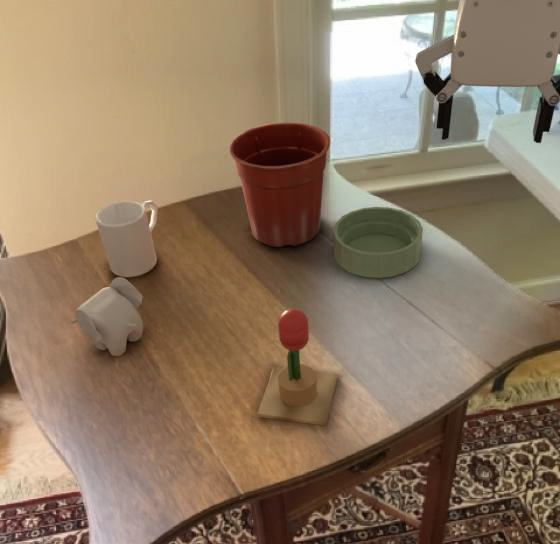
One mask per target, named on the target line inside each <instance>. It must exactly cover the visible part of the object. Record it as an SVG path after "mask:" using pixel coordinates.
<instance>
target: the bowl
mask: <svg viewBox="0 0 560 544" xmlns="http://www.w3.org/2000/svg"><path fill="white" fill-rule="evenodd" d="M423 231H424V229H423V225H422V223H421V222H420V220H418V219H417V218H416V217H415V216H414V215H412V214H410V213H409V212H406V211H404V210H403V209H398V208H393V207H386V206H371V207H363V208H359V209H356V210H352V211H350V212H348V213H346V214H343V215H342V216H341V217H340V218H339V219H338V220H337V221H336V222H335V224H334V227H333V230H332V233H333V235H332V240H333V244H332V245H333V246H332V247H333V248H332V249H333V257H334V260H335V262H336V263H337V264H338V265H339V266H340V268H342V269H343V270H345V271H346V272H348V273H350V274H352V275H356V276H360V277H364V278H374V279H382V278H391V277H396V276H398V275H401V274H405V273H407V272H408V271H410V270H412V269H413V268H414V267H415V266H416V265H417V264H418V263H419V261H420V259H421V253H422V243H423Z"/></svg>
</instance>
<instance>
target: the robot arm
mask: <svg viewBox="0 0 560 544" xmlns="http://www.w3.org/2000/svg"><path fill="white" fill-rule="evenodd" d="M453 31H454V32H453V34H452V35H450V36H448V37H446V38H445V39H442V40H440V41H438V42H436V43H434V44H433V45H431V46H429V47H427V48H425V49H422V50H420V51H419V52H417V53H416V56H415V62H414V63H415V65H416V67H417V69H418V72H419V75H420V77H421V78H422V80H423V84H424V86H425V87H426V88H427V89H428V90H429V91H430V93H431V94H432V95H433V96H434V97H435V98H436V102H438V108H437V117H436V127H435V128H436V130H437V129H438V130H439V129H441V130H442V132H441V140H442V141H443V140H444V141H446V140H448V139H449V137H450V128H451V120H452V109H453V100H454V94H456V92H457V91H458V90H459V89H460V88H461V87H462V86H466V87H493V88H494V87H498V88H535V87H537V89H538V90H539V92H540V94H541V96H539V99H538V103H537V108H536V112H535V113H536V114H535V119H534V122H533V127H532V128H533V129H532V138H533V142H535V143H536V144H542V141H543V135H544V133H550V130H551V126H552V121H553V117H554V113H555V109H556V106H557V105H558V104H560V79H558V80H555V79H554V74H555V71H556V66H557V61H558V57H559V55H560V0H459V2H458V7H457V11H456V19H455V26H454V30H453ZM448 55H450V72H449V73H448V74H447V75H446V77H444V79H443V78H442V77H441V76H440V75H439V74H438V72H437V71H436V70H435V69H434V66H433V63H434V62H437V61H439V60H440V59H442V58H444V57H446V56H448Z"/></svg>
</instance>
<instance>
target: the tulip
mask: <svg viewBox="0 0 560 544" xmlns="http://www.w3.org/2000/svg"><path fill="white" fill-rule="evenodd" d="M277 323H278V324H277V327H278V336H279V337H278V338H279V342H280V344H281V345H282V347H283V348H285V349H286V350H287V354H286V360H287V366H285V367H283V368H284V369H282V370H281V371H280V373H279V375H278V386H279V395H280V398H281V400H282V401H283V402H284V403H285V404H287V405H289V406H293V407H302V406H306V405H308V404H310V403H311V402H313V401H314V399H315V398H316V396H317V381H316V373H315V370H314V369H313V368H312V367H311V366H309V365H306V364H302V363H301V359H300V358H301V357H300V351H301V350H303V349H304V348H306V346H307V344H308V342H309V339H310V333H309V332H310V330H309V320H308V317H307V315H306V314H305V313H304V312H303V311H302V310H300V309H298V308H288V309H286V310H284V311H283V312H282V313H281V314H280V316H279V318H278V321H277Z"/></svg>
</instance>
